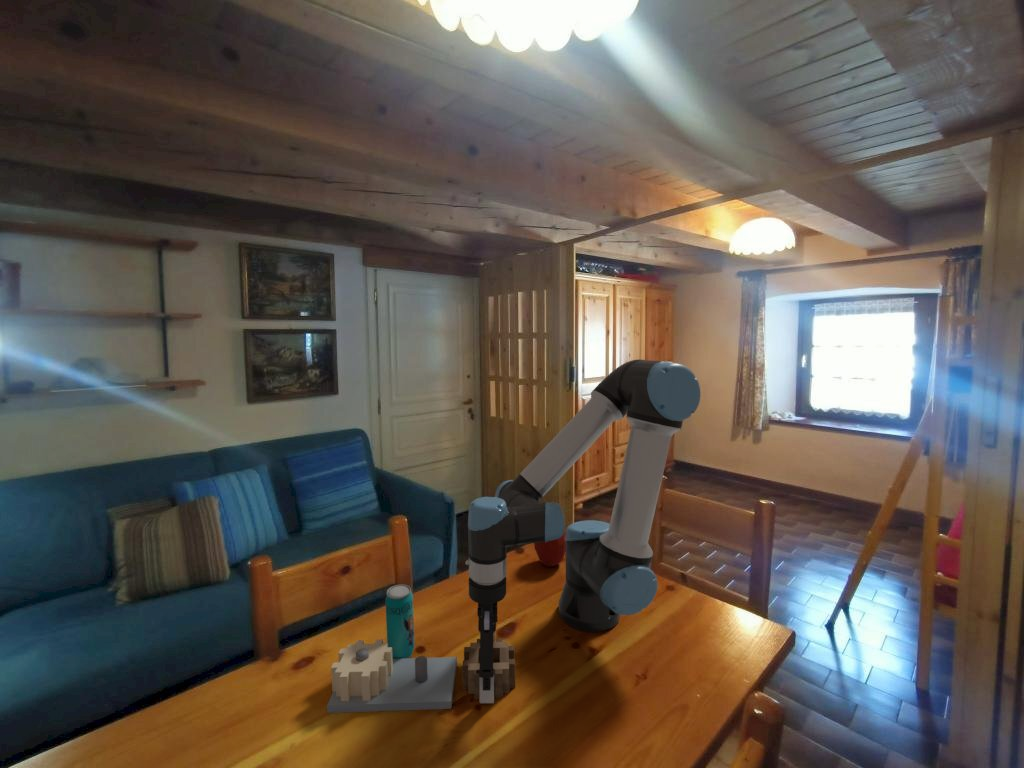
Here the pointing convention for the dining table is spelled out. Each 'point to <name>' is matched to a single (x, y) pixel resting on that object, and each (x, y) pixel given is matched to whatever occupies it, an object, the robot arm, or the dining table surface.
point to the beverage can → (400, 621)
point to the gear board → (389, 680)
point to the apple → (551, 551)
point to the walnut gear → (501, 665)
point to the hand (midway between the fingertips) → (487, 675)
